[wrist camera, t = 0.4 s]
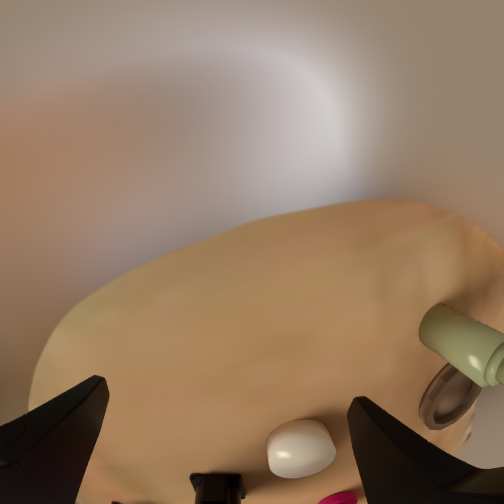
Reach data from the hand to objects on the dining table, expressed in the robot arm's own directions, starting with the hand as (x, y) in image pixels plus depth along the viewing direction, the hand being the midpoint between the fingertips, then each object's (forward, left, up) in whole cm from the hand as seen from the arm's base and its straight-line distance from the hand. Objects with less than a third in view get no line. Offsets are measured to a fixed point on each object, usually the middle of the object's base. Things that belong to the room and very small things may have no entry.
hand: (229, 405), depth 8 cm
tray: (-17, -27, -14) cm, 35 cm away
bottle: (-6, -21, -14) cm, 26 cm away
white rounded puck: (-18, -5, -14) cm, 24 cm away
